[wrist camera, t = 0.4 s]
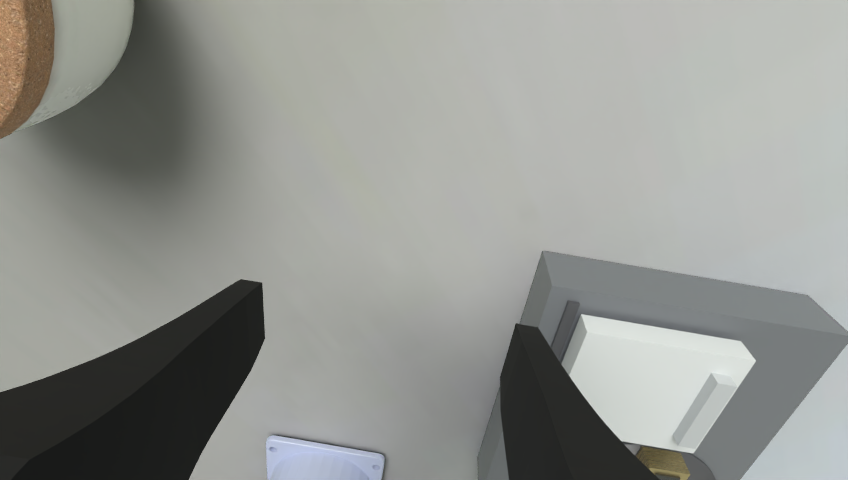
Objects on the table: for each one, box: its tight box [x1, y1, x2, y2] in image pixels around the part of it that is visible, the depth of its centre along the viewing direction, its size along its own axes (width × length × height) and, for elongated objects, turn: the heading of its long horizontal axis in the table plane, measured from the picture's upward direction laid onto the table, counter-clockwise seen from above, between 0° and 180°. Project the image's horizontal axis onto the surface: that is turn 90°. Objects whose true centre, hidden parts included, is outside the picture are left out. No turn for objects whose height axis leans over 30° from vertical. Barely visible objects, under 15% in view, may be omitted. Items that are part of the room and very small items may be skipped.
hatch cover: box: [562, 314, 756, 453], centre depth 21 cm, size 6×7×2 cm
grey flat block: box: [478, 251, 848, 480], centre depth 25 cm, size 18×13×3 cm
